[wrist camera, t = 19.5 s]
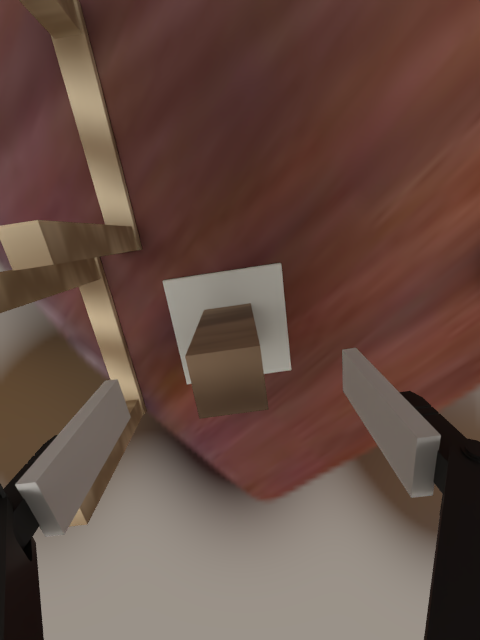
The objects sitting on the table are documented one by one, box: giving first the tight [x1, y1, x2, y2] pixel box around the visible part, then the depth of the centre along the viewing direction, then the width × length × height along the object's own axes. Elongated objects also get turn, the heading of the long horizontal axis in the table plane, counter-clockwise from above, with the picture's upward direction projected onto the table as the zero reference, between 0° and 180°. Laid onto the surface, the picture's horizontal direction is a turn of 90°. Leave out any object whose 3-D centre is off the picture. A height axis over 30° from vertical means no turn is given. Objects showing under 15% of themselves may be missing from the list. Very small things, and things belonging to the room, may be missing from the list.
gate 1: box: [0, 0, 142, 271], centre depth 16 cm, size 17×2×12 cm, turn 8°
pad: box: [163, 263, 291, 384], centre depth 26 cm, size 11×11×1 cm
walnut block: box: [185, 303, 268, 418], centre depth 21 cm, size 4×4×10 cm
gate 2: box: [0, 257, 147, 527], centre depth 21 cm, size 17×2×12 cm, turn 8°
